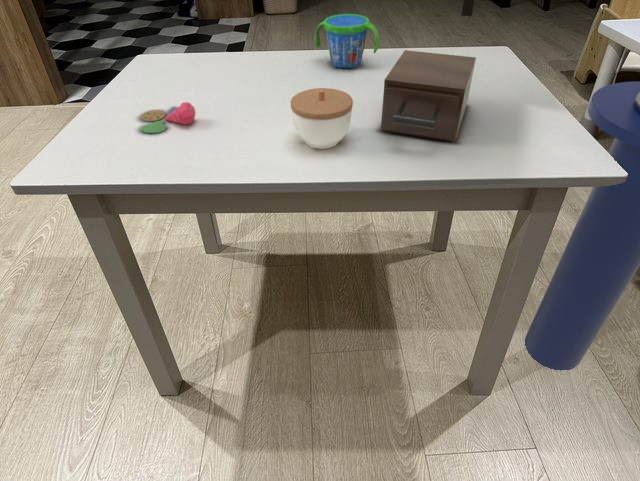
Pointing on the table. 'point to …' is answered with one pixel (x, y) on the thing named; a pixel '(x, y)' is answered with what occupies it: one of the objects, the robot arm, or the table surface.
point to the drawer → (420, 111)
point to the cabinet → (433, 78)
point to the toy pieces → (168, 117)
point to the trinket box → (322, 116)
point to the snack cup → (346, 38)
